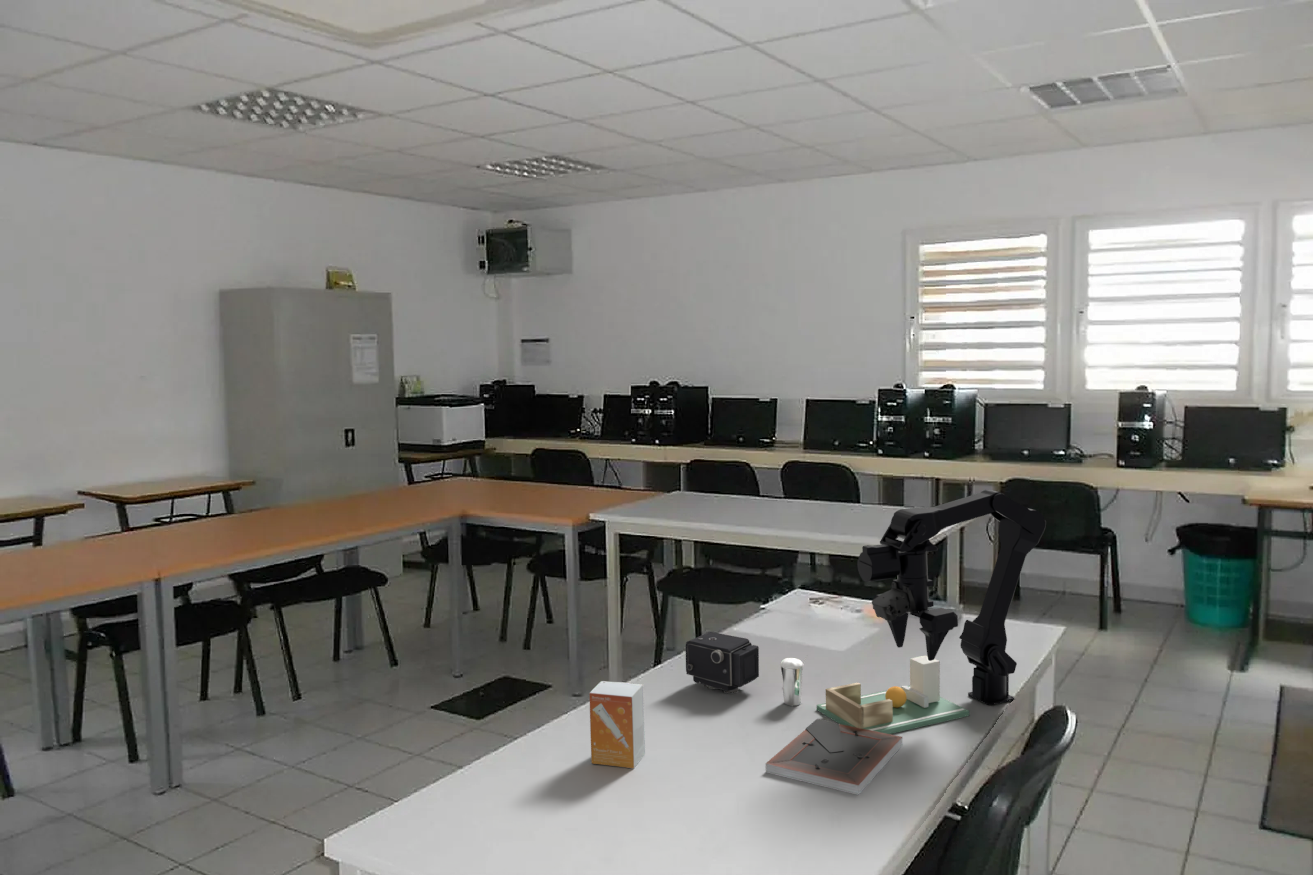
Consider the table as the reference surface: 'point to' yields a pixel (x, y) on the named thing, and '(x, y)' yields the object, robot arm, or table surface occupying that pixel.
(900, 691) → the ball
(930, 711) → the board
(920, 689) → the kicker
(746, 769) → the table surface
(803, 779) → the book
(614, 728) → the small box
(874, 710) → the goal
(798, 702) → the milkshake
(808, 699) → the table surface
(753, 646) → the camera
